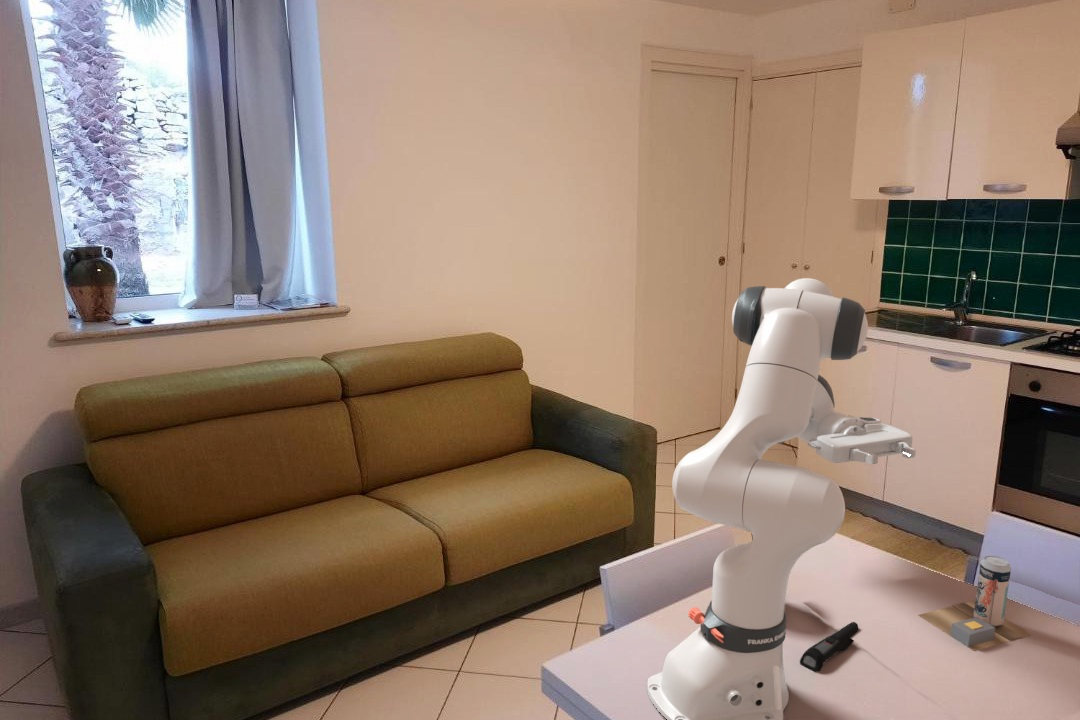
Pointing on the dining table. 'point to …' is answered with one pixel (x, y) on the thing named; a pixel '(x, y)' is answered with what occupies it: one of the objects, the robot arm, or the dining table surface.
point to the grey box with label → (972, 631)
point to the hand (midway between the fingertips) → (894, 457)
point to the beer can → (992, 590)
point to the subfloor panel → (965, 611)
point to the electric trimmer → (828, 647)
